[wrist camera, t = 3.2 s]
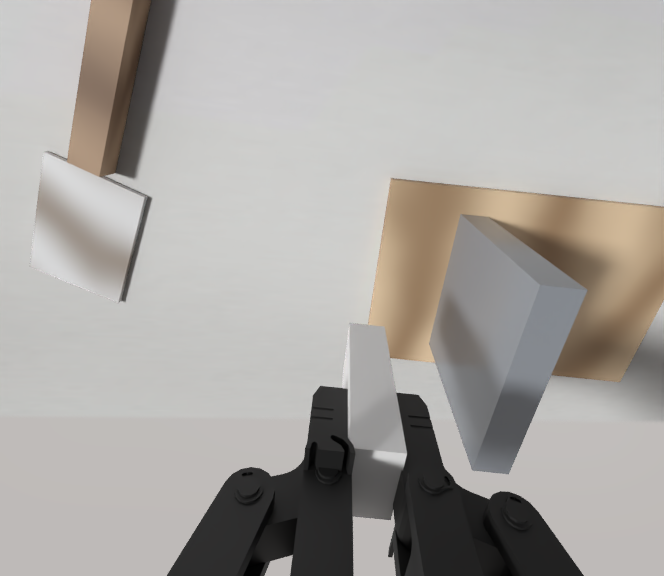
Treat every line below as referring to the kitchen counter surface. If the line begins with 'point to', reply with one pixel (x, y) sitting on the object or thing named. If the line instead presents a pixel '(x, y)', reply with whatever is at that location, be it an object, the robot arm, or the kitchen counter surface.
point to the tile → (499, 337)
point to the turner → (94, 163)
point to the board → (544, 238)
